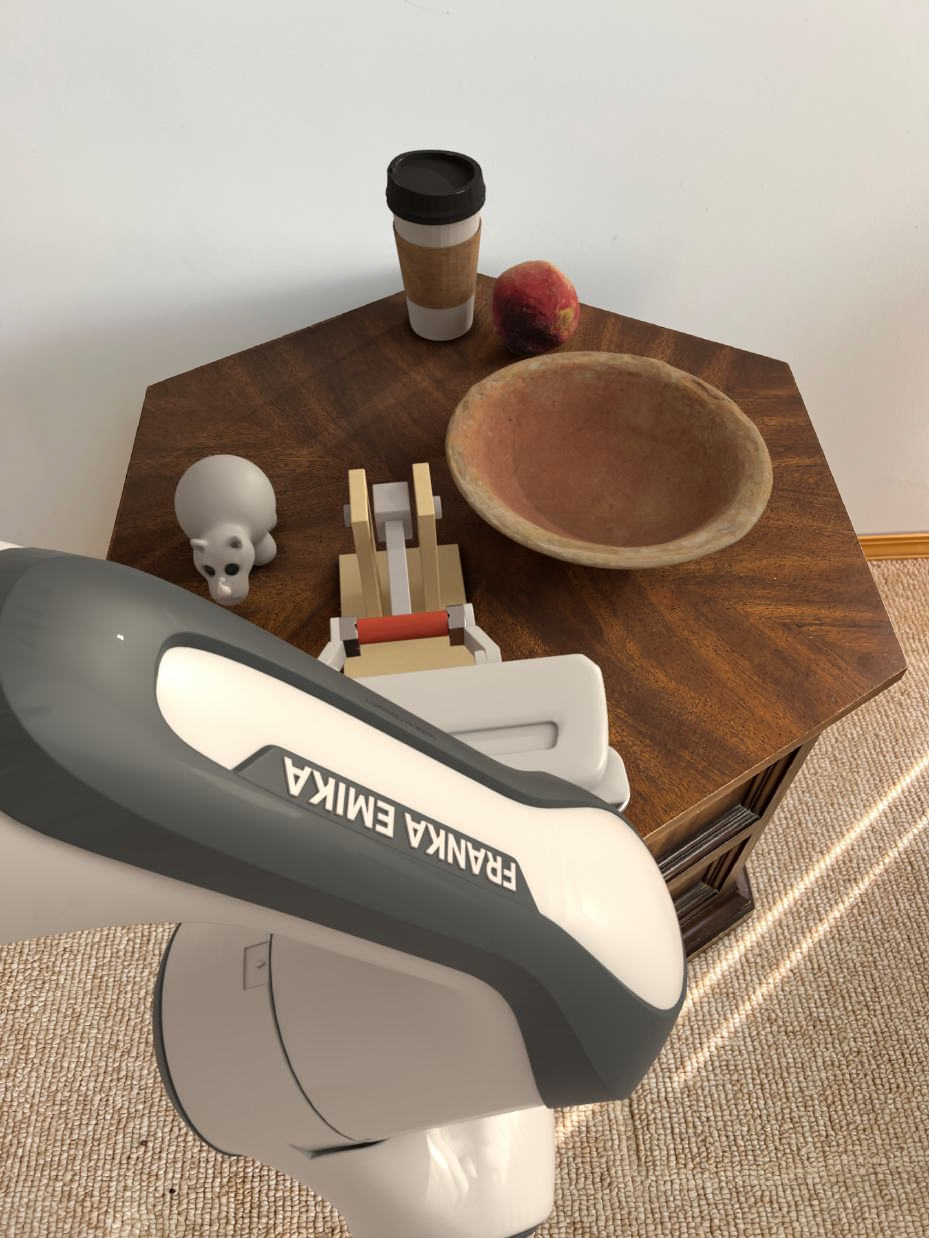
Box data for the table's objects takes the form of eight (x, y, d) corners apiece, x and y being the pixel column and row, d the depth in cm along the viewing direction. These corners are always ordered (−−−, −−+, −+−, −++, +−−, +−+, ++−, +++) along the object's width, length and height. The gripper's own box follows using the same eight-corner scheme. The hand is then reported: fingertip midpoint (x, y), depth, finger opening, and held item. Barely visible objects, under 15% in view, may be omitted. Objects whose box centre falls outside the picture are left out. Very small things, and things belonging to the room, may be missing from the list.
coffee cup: (394, 298, 92) (380, 145, 80) (480, 291, 92) (479, 138, 80) (400, 353, 87) (386, 199, 75) (491, 345, 87) (492, 191, 75)
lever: (449, 647, 53) (448, 617, 51) (360, 656, 52) (355, 626, 51) (431, 508, 61) (429, 478, 59) (354, 515, 61) (350, 486, 59)
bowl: (803, 595, 70) (836, 523, 63) (493, 665, 66) (494, 596, 60) (682, 391, 83) (698, 314, 77) (419, 440, 80) (414, 364, 73)
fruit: (585, 332, 88) (593, 255, 82) (560, 383, 84) (566, 306, 78) (507, 314, 90) (508, 238, 83) (478, 363, 86) (478, 286, 79)
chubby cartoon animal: (183, 639, 68) (149, 564, 61) (197, 516, 75) (168, 436, 68) (283, 631, 68) (260, 555, 62) (287, 509, 75) (267, 429, 69)
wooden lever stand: (476, 687, 65) (475, 559, 54) (346, 700, 65) (318, 574, 54) (458, 555, 72) (453, 418, 61) (341, 566, 72) (314, 430, 61)
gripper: (648, 797, 43) (589, 562, 51) (193, 851, 42) (206, 602, 50) (631, 850, 48) (580, 629, 56) (226, 899, 47) (233, 666, 55)
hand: (401, 616), depth 53 cm, fingers closed on lever, 5 cm apart
